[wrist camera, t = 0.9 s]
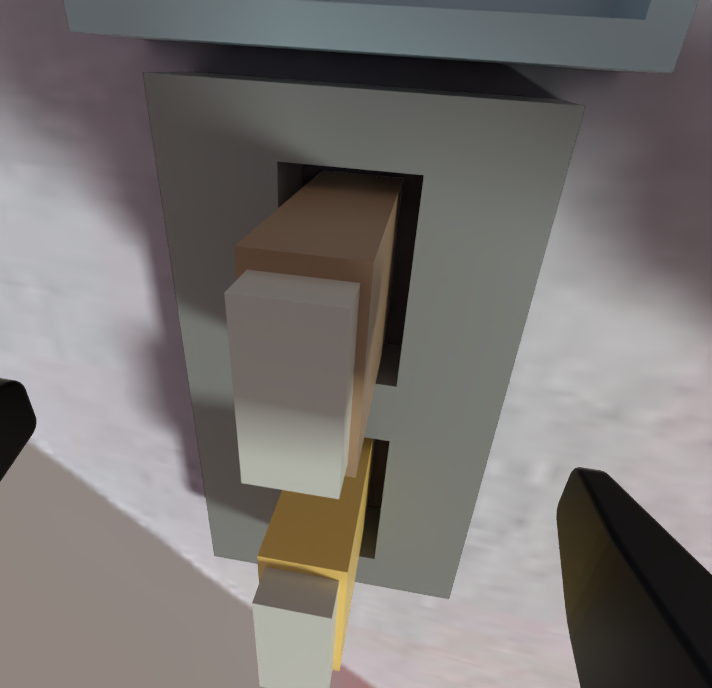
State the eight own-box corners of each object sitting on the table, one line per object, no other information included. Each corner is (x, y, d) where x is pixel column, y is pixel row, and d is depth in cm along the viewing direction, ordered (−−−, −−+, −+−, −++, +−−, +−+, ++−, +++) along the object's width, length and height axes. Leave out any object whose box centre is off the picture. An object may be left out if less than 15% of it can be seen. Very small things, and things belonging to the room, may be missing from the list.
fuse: (378, 405, 18) (340, 610, 11) (369, 496, 21) (333, 708, 14) (317, 396, 18) (243, 591, 11) (315, 487, 21) (253, 691, 14)
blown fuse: (403, 177, 14) (365, 285, 7) (387, 328, 16) (348, 514, 9) (322, 170, 14) (209, 267, 7) (319, 319, 17) (233, 495, 10)
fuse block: (559, 99, 12) (585, 106, 10) (448, 546, 21) (449, 599, 19) (191, 71, 13) (142, 72, 11) (236, 509, 22) (214, 555, 20)
